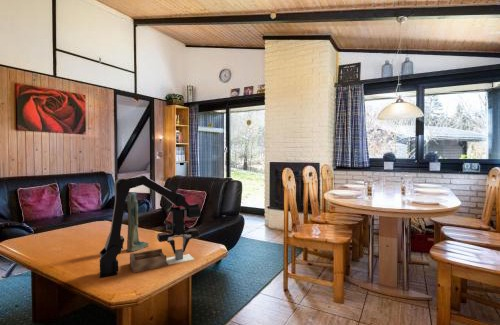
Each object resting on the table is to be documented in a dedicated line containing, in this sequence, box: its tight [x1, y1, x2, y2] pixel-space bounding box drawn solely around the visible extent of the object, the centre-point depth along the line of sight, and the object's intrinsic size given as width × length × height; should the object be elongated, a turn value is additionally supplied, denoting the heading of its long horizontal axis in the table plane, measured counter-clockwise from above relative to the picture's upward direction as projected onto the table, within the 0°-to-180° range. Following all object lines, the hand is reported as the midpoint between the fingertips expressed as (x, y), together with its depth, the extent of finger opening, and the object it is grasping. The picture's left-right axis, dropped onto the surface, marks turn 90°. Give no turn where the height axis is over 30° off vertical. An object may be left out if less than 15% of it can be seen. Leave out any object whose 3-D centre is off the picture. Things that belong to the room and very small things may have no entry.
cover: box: [166, 248, 195, 265], centre depth 135 cm, size 12×9×5 cm
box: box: [129, 248, 168, 273], centre depth 129 cm, size 14×12×4 cm
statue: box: [125, 192, 149, 253], centre depth 152 cm, size 7×11×30 cm, turn 149°
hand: (179, 252), depth 135 cm, fingers open, 4 cm apart
